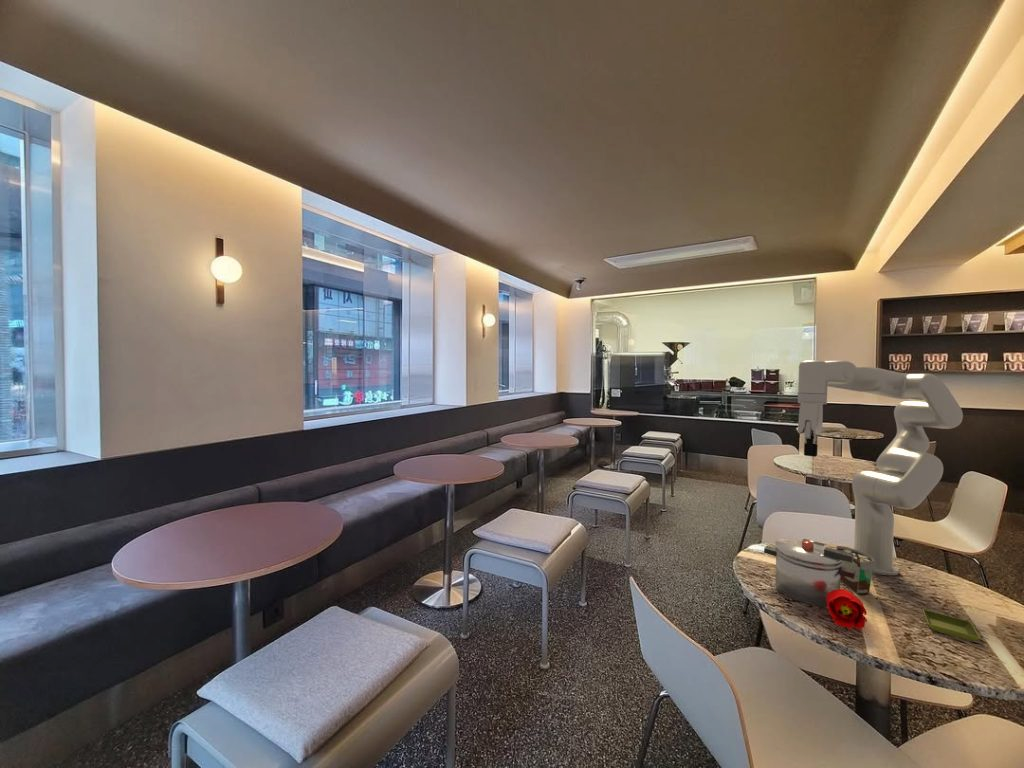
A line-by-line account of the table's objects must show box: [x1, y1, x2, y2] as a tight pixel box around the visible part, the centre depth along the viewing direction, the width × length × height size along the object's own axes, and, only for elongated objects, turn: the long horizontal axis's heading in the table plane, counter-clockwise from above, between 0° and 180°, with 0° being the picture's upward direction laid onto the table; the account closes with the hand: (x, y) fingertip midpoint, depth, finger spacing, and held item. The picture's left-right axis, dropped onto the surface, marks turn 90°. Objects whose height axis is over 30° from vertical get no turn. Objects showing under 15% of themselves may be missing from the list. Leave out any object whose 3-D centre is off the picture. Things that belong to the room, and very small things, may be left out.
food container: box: [835, 545, 876, 596], centre depth 119 cm, size 12×6×10 cm, turn 168°
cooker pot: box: [763, 545, 856, 608], centre depth 116 cm, size 15×21×11 cm
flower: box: [826, 588, 868, 630], centre depth 102 cm, size 8×8×8 cm
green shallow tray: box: [921, 609, 981, 642], centre depth 99 cm, size 9×9×2 cm
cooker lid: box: [774, 538, 854, 566], centre depth 115 cm, size 16×18×3 cm
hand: (810, 455), depth 129 cm, fingers closed
